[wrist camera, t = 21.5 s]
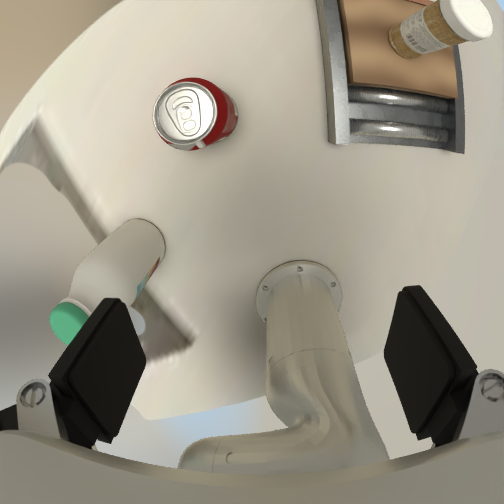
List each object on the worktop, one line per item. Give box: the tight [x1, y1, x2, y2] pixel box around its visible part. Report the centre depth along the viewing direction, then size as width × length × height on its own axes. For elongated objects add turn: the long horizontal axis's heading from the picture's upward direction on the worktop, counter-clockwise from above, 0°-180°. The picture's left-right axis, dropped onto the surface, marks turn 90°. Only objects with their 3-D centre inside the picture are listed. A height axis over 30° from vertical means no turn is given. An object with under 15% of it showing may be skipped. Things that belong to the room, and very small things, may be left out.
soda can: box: [153, 78, 238, 151], centre depth 27 cm, size 7×7×12 cm
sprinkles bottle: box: [389, 0, 493, 59], centre depth 16 cm, size 5×5×14 cm
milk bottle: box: [49, 219, 165, 345], centre depth 31 cm, size 8×8×20 cm
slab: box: [337, 0, 458, 99], centre depth 23 cm, size 12×14×2 cm
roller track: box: [316, 0, 465, 154], centre depth 26 cm, size 20×18×5 cm
